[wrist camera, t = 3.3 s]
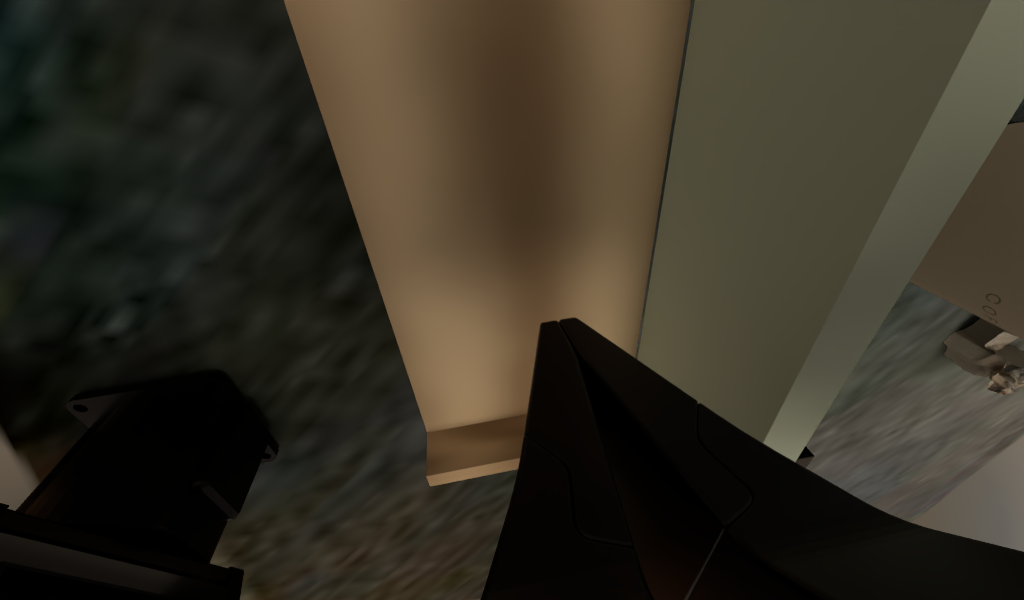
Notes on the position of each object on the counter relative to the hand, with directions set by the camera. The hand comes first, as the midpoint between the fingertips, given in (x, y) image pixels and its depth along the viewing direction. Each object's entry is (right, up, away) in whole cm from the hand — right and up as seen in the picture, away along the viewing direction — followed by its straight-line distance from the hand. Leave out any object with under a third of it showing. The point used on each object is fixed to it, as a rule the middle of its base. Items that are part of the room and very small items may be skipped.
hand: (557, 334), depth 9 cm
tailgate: (+4, +4, +5) cm, 7 cm away
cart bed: (-1, +4, +7) cm, 8 cm away
